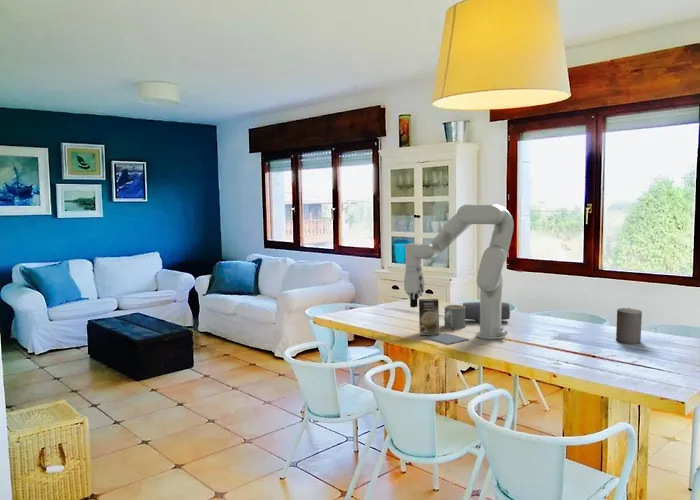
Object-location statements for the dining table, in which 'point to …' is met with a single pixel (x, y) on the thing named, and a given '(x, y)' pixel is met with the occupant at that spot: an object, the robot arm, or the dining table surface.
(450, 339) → the mat
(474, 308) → the bluetooth speaker
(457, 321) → the coffee mug
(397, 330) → the dining table surface
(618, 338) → the pillar candle
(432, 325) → the coffee box
